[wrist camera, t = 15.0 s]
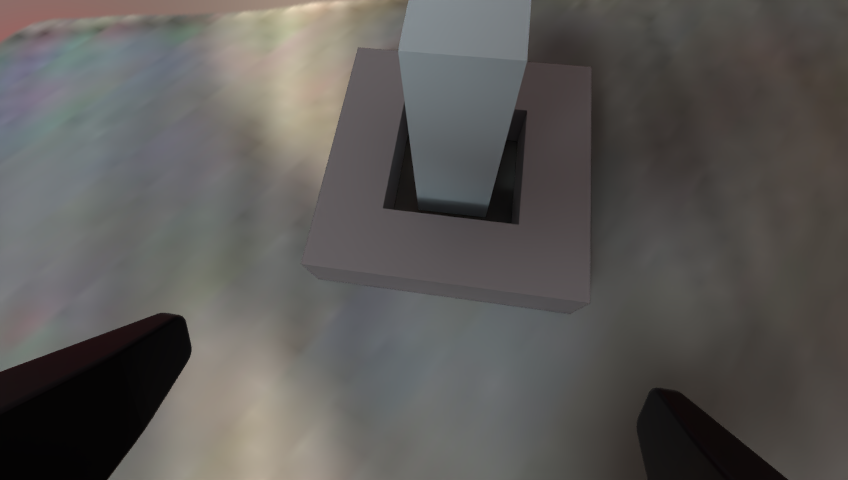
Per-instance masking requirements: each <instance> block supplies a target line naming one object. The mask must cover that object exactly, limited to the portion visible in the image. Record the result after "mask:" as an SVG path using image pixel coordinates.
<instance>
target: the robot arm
mask: <svg viewBox="0 0 848 480" xmlns="http://www.w3.org/2000/svg"><path fill="white" fill-rule="evenodd" d="M191 349H192V347H191V342H190V337H189V333H188V328H187V324H186V320H185V319H184V318H183V316H181V315H176V314H170V313H159V314H156V315H153V316H150V317H148V318H145V319H142V320H139V321H137V322H134V323H131V324H129V325H126V326H123V327H121V328H118V329H115V330H112V331H110V332H107V333H104V334H102V335H99V336H96V337H93V338H91V339H88V340H85V341H83V342H80V343H77V344H74V345H72V346H69V347H66V348H64V349H61V350H58V351H55V352H53V353H50V354H47V355H45V356H42V357H39V358H36V359H34V360H31V361H28V362H26V363H23V364H20V365H18V366H15V367H12V368H9V369H7V370H4V371H1V372H0V480H108V478H109V477H110V476H111V474H112V473H113V472H114V470H115V469H116V468H117V466H118V465H119V464H120V462H121V461H122V460H123V459H124V457H125V456H126V455H127V453H128V452H129V451H130V449H131V448H132V447H133V445H134V444H135V443H136V441H137V440H138V438H139V437H140V436H141V434H142V433H143V431H144V430H145V429H146V427H147V425H148V424H149V422H150V421H151V419H152V418H153V416H154V415H155V413H156V412H157V410H158V408H159V407H160V405H161V404H162V402H163V400H164V399H165V397H166V396H167V394H168V392H169V391H170V389H171V387H172V386H173V384H174V383H175V381H176V379H177V378H178V376H179V375H180V373H181V371H182V370H183V368H184V367H185V365H186V363H187V362H188V360H189V358H190V355H191ZM637 434H638V439H639V443H640V448H641V452H642V457H643V461H644V466H645V470H646V475H647V479H648V480H788V479H787V478H785V477H784V476H783V475H782V474H781V473H779V472H778V471H777V470H776V469H774V468H773V467H772V466H771V465H769V464H768V463H767V462H766V461H764V460H763V459H762V458H761V457H760V456H758V455H757V454H756V453H755V452H753V451H752V450H751V449H750V448H748V447H747V446H746V445H745V444H743V443H742V442H741V441H740V440H739V439H737V438H736V437H735V436H734V435H732V434H731V433H730V432H729V431H727V430H726V429H725V428H724V427H722V426H721V425H720V424H719V423H718V422H716V421H715V420H714V419H713V418H711V417H710V416H709V415H708V414H706V413H705V412H704V411H703V410H701V409H700V408H699V407H698V406H697V405H695V404H694V403H693V402H692V401H690V400H689V399H688V398H687V397H685V396H684V395H683V394H682V393H680V392H678V391H675V390H670V389H663V388H653V389H652V390H651V391H650V392H649V394H648V396H647V399H646V401H645V403H644V405H643V408H642V410H641V412H640V415H639V417H638V420H637Z"/></svg>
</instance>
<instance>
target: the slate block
mask: <svg viewBox="0 0 848 480" xmlns="http://www.w3.org/2000/svg"><path fill="white" fill-rule="evenodd" d="M530 11H531V0H409V1H408V6H407V11H406V15H405V20H404V25H403V30H402V34H401V39H400V44H399V49H398V55H399V62H400V70H401V78H402V85H403V93H404V101H405V108H406V116H407V124H408V132H409V139H410V147H411V155H412V162H413V170H414V178H415V185H416V193H417V201H418V208H419V210H424V211H433V212H442V213H451V214H460V215H469V216H477V217H486V214H487V210H488V206H489V203H490V199H491V195H492V191H493V188H494V184H495V180H496V176H497V172H498V169H499V165H500V161H501V157H502V154H503V150H504V146H505V142H506V139H507V135H508V131H509V127H510V124H511V120H512V116H513V112H514V108H515V105H516V101H517V97H518V93H519V90H520V86H521V82H522V78H523V75H524V71H525V67H526V63H527V56H528V41H529V26H530Z"/></svg>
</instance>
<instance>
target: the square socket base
mask: <svg viewBox="0 0 848 480" xmlns="http://www.w3.org/2000/svg"><path fill="white" fill-rule="evenodd" d="M591 72H592V67H587V66H575V65H563V64H551V63H539V62H527V63H526V67H525V71H524V75H523V78H522V82H521V86H520V90H519V93H518V97H517V101H516V105H515V108H514V112H513V116H512V120H511V124H510V127H509V131H508V135H507V139H506V140H510V141H518V142H517V155H516V167H515V180H514V192H513V205H512V217H511V224H509V223H500V222H492V221H484V220H475V219H467V218H459V217H450V216H442V215H434V214H425V213H417V212H409V211H400V210H394V205H395V200H396V194H397V189H398V184H399V179H400V173H401V168H402V163H403V158H404V153H405V147H406V142H407V137H408V124H407V116H406V108H405V101H404V93H403V85H402V78H401V70H400V62H399V55H398V51H394V50H382V49H370V48H358V50H357V53H356V57H355V61H354V65H353V69H352V72H351V76H350V80H349V84H348V87H347V91H346V95H345V99H344V102H343V106H342V110H341V114H340V118H339V121H338V125H337V129H336V133H335V136H334V140H333V144H332V148H331V152H330V155H329V159H328V163H327V167H326V170H325V174H324V178H323V182H322V185H321V189H320V193H319V197H318V201H317V204H316V208H315V212H314V216H313V219H312V223H311V227H310V231H309V235H308V238H307V242H306V246H305V250H304V253H303V257H302V261H301V265H303V266H304V267H305V268H306V269H307V270H308V271H310V272H311V273H312V274H313V275H314V276H315V277H317V278H318V279H322V280H329V281H336V282H344V283H351V284H358V285H365V286H373V287H380V288H387V289H394V290H402V291H409V292H416V293H423V294H430V295H438V296H445V297H452V298H459V299H467V300H474V301H481V302H488V303H496V304H503V305H510V306H517V307H525V308H532V309H539V310H546V311H554V312H561V313H568V314H571V313H573V312H574V311H576V310H578V309H580V308H582V307H584V306H585V305H587V304H589V303H590V235H591Z"/></svg>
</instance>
